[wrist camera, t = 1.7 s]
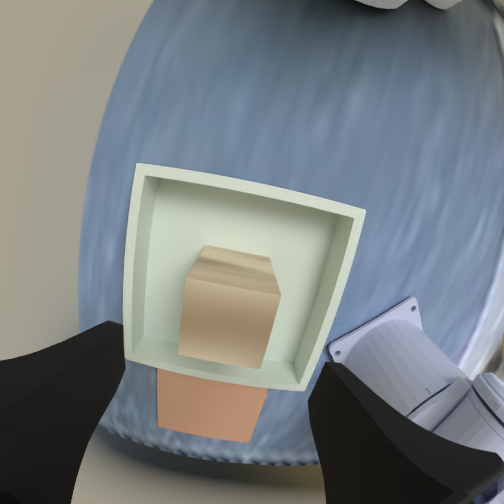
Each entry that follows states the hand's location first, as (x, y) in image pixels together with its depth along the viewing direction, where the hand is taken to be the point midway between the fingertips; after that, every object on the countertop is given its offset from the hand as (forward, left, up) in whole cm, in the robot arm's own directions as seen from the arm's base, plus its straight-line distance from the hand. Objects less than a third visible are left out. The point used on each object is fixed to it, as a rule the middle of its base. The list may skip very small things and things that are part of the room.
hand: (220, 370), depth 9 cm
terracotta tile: (-9, +8, -9) cm, 15 cm away
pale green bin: (0, 0, -9) cm, 9 cm away
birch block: (0, 0, -9) cm, 9 cm away
